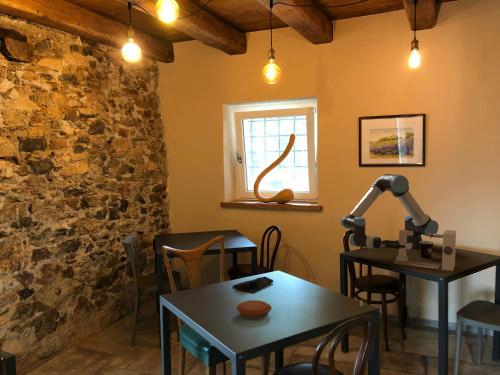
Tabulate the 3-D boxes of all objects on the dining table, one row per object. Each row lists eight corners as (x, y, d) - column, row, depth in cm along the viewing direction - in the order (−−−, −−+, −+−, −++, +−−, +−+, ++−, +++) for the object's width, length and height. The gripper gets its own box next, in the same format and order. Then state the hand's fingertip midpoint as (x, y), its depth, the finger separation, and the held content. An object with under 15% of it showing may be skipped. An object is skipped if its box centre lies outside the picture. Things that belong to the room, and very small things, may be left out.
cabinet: (444, 264, 271) (445, 230, 269) (454, 266, 268) (456, 230, 266) (441, 269, 260) (443, 233, 258) (452, 271, 257) (454, 234, 255)
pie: (250, 325, 181) (250, 313, 181) (229, 313, 194) (229, 302, 193) (278, 316, 190) (278, 305, 190) (257, 306, 203) (257, 295, 202)
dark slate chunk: (278, 285, 235) (278, 276, 234) (250, 295, 219) (250, 286, 218) (256, 279, 245) (256, 271, 245) (229, 288, 229) (229, 280, 228)
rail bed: (397, 259, 284) (397, 257, 284) (440, 264, 272) (440, 262, 272) (393, 263, 275) (393, 261, 275) (438, 269, 262) (438, 267, 262)
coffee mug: (430, 255, 294) (431, 241, 293) (434, 259, 285) (435, 244, 284) (412, 255, 295) (413, 241, 294) (416, 258, 286) (416, 243, 286)
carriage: (398, 258, 282) (399, 229, 280) (413, 259, 278) (413, 230, 276) (396, 260, 276) (396, 231, 274) (411, 262, 272) (412, 232, 270)
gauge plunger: (430, 237, 270) (430, 232, 269) (447, 238, 265) (448, 233, 264) (429, 238, 267) (429, 233, 267) (447, 239, 262) (447, 234, 262)
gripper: (377, 245, 293) (413, 249, 282) (370, 250, 278) (408, 255, 267) (377, 234, 293) (414, 237, 281) (370, 239, 278) (409, 243, 266)
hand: (411, 246), depth 274 cm, fingers closed on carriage, 4 cm apart
